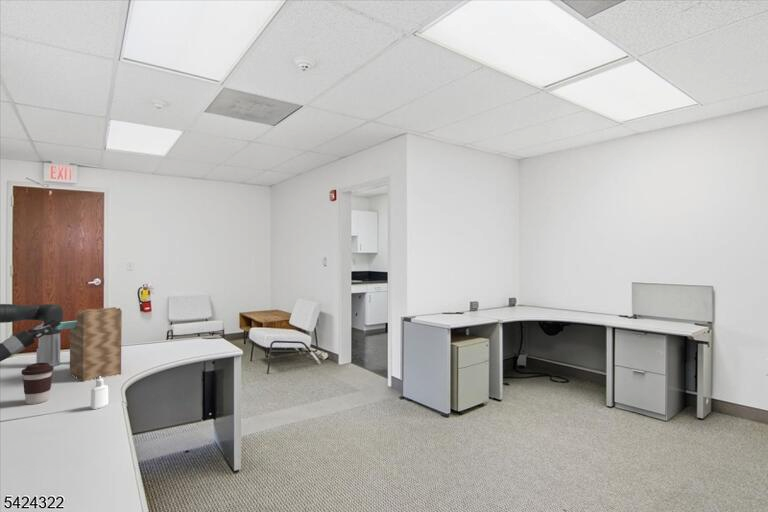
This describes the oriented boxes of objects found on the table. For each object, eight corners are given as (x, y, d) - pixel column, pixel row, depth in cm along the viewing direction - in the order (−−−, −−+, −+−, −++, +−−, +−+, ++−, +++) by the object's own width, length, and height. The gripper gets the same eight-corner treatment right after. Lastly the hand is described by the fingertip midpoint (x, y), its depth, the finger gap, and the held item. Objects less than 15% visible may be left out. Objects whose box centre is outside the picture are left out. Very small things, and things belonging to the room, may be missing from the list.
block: (58, 329, 195) (58, 323, 195) (55, 328, 198) (55, 322, 198) (119, 323, 216) (119, 317, 216) (116, 322, 218) (116, 316, 218)
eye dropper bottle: (108, 407, 158) (109, 376, 159) (90, 410, 155) (91, 378, 155) (108, 404, 162) (108, 373, 162) (90, 407, 158) (90, 376, 159)
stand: (83, 381, 192) (83, 311, 193) (69, 374, 205) (70, 308, 205) (121, 374, 205) (121, 308, 205) (106, 367, 217) (106, 305, 218)
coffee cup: (24, 407, 158) (25, 368, 158) (18, 402, 164) (18, 365, 164) (56, 400, 166) (56, 363, 166) (49, 395, 172) (49, 360, 172)
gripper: (16, 337, 180) (56, 316, 191) (9, 334, 188) (48, 313, 200) (27, 351, 183) (66, 328, 194) (19, 346, 191) (57, 325, 202)
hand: (57, 321), depth 197 cm, fingers open, 8 cm apart
